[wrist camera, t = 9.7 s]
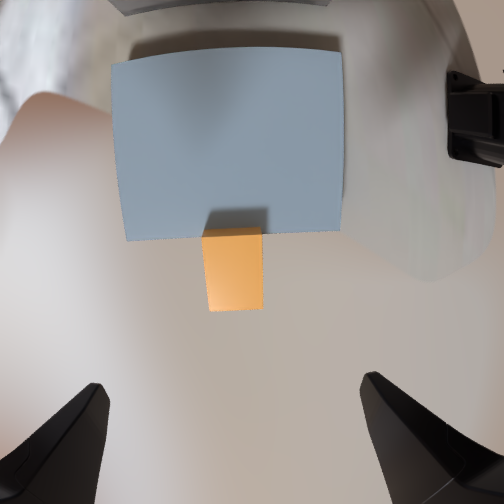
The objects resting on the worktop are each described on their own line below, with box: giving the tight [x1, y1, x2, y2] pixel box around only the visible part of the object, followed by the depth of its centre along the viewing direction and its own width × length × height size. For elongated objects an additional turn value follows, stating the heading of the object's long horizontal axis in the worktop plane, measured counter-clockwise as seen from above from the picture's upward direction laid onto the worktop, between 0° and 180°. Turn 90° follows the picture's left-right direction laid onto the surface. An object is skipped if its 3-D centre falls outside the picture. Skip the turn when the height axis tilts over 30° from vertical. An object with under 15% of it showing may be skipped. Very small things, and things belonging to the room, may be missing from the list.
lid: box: [111, 47, 344, 311], centre depth 15 cm, size 12×14×3 cm
